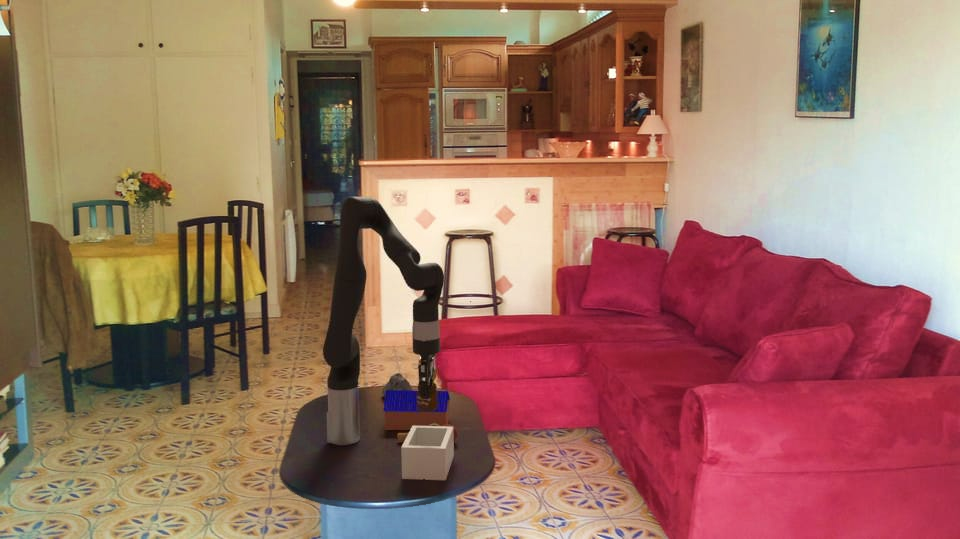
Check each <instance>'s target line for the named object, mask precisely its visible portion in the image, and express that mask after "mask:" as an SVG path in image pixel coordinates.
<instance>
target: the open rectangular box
mask: <svg viewBox="0 0 960 539" xmlns="http://www.w3.org/2000/svg"><path fill="white" fill-rule="evenodd" d="M407 433H408V435H407V437H406V439H405V441H404V442H402V445H401V451H400V452H401V479H402V480H423V479H425V480H429V481H447V477H448V475H449V471H450V468H451V466H452V463H453V460H454V456H455V451H454V450H455V449H454V448H455V447H454V443H455V441H454V430H453V427H446V426H412V427H411V429H410V431H408V432H407Z"/></svg>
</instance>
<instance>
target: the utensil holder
mask: <svg viewBox="0 0 960 539" xmlns="http://www.w3.org/2000/svg"><path fill="white" fill-rule="evenodd" d="M434 371H435V372H434ZM434 371H433V376H432V380H433V382H430V385H429V387H430V397H429V399H422V398H421V386H420V385H419V383H418V385H417V390H416V391H417V409H418V410H419V411H423V412H431V411H435V410H436V409H437V408H438V392H437V391H438V390H437V384H436V383H435V380H436V379H437V374H438V368H435V369H434ZM425 380H426V379H425V378H424V381H425Z"/></svg>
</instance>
